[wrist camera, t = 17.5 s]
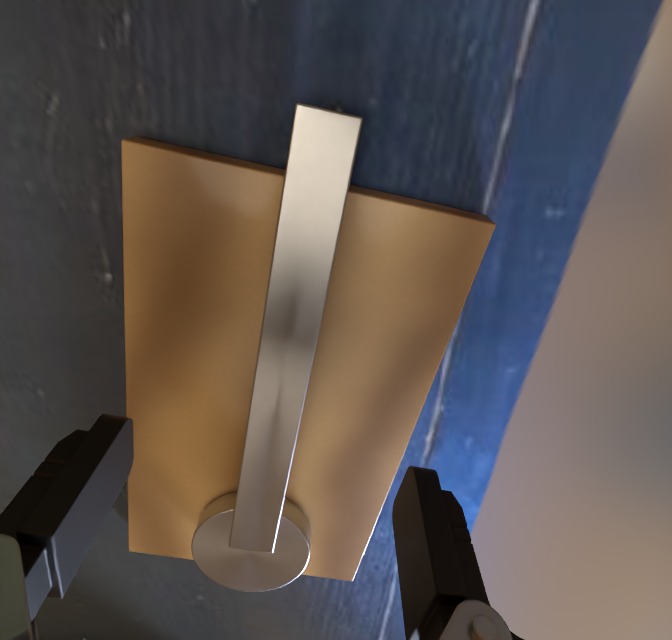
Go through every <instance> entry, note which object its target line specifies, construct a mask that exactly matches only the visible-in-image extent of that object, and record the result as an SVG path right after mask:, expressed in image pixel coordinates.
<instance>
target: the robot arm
mask: <svg viewBox="0 0 672 640" xmlns="http://www.w3.org/2000/svg"><path fill="white" fill-rule="evenodd" d="M133 459H134V440H133V420H132V419H131V418H126V417H120V416H114V415H108V414H102V415H101V416H100V417H99V418H98V419H97V421H96V422H95V424H94V425H93V426H92V428H91V429H90V430H89V431H83V430H76V431H74V432H73V433H71V434H70V435H68V436H67V437H65V438H64V439H62V440H61V441H59V442H58V443H57V444H56V446H55V447H54V448H53V449H52V451H51V452H50V453H49V454H48V456H47V457H46V458H45V461H44V462H42V463H41V464H40V466H39V467H38V468H37V470H36V471H35V472H34V475H33V476H31V477H30V478H29V480H28V481H27V482H26V483H25V485H24V486H23V487H22V488H21V490H20V491H19V492H18V493H17V495H16V496H15V497H14V499H13V500H12V501H11V502H10V504H9V505H8V506H7V507H6V509H5V510H4V511H3V512H2V514H1V515H0V640H39V638H38V631H37V623H36V617H35V616H36V614H37V612H38V610H39V609H40V607H41V605H42V603H43V602H44V600H45V598H46V596H48V597H56V598H63V596H64V594H65V592H66V591H67V589H68V587H69V585H70V583H71V581H72V580H73V578H74V576H75V574H76V572H77V570H78V569H79V567H80V565H81V563H82V561H83V559H84V558H85V556H86V554H87V552H88V550H89V548H90V547H91V545H92V543H93V541H94V539H95V537H96V536H97V534H98V532H99V530H100V528H101V526H102V525H103V523H104V521H105V519H106V517H107V515H108V514H109V512H110V510H111V508H112V506H113V504H114V502H115V501H116V499H117V497H118V495H119V493H120V491H121V490H122V488H123V486H124V484H125V482H126V480H127V478H128V476H129V474H130V471H131V468H132V464H133ZM392 520H393V530H394V538H395V547H396V556H397V565H398V574H399V582H400V591H401V600H402V609H403V618H404V626H405V635H406V640H524V639H521V638H520V637H518V636H516V635H515V634H514V633H512V632H511V631H510V630H509V628H508V626H507V624H506V623H505V621H504V620H503V619H502V617H501V616H500V615H499V614H498V613H497V612H496V611H495V610H494V609H493V608H492V607H491V606H490V604H489V601H488V598H487V595H486V592H485V587H484V584H483V580H482V577H481V573H480V570H479V566H478V563H477V559H476V555H475V552H474V548H473V545H472V544H471V538H470V534H469V531H468V529H467V523H466V520H465V516H464V513H463V509H462V507H461V506H460V504H459V503H458V501H457V500H456V498H455V497H454V495H453V494H452V492H451V491H445V490H441V487H440V482H439V478H438V475H437V472H436V471H435V470H432V469H426V468H420V467H414V466H409V467H408V469H407V471H406V474H405V476H404V478H403V481H402V483H401V486H400V488H399V490H398V493H397V495H396V498H395V500H394V505H393V513H392Z"/></svg>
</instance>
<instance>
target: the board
mask: <svg viewBox="0 0 672 640" xmlns="http://www.w3.org/2000/svg"><path fill="white" fill-rule="evenodd" d="M121 146H122V201H123V256H124V311H125V366H126V418H131V419H132V420H133V440H134V459H133V464H132V468H131V471H130V474H129V476H128V530H129V551H133V552H140V553H148V554H155V555H163V556H170V557H177V558H185V559H192V560H194V558H193V556H192V550H191V543H192V538H193V535H194V532H195V529H196V526H197V523H198V520H199V518H200V515H201V514H202V512H203V511H204V509H205V508H206V507H207V506H208V505H209V504H210V503H212V502H213V501H214V500H216V499H217V498H219V497H221V496H223V495H226V494H229V493H232V492H236V491H237V486H238V480H239V473H240V467H241V460H242V453H243V447H244V440H245V433H246V427H247V420H248V413H249V407H250V400H251V394H252V387H253V380H254V374H255V367H256V360H257V354H258V347H259V340H260V334H261V327H262V320H263V314H264V307H265V301H266V294H267V287H268V281H269V274H270V267H271V261H272V254H273V247H274V241H275V234H276V228H277V221H278V214H279V208H280V201H281V194H282V188H283V181H284V174H285V170H284V169H280V168H275V167H271V166H266V165H262V164H258V163H253V162H249V161H244V160H240V159H235V158H231V157H227V156H222V155H218V154H213V153H209V152H205V151H200V150H196V149H191V148H187V147H183V146H178V145H174V144H169V143H165V142H160V141H156V140H152V139H147V138H143V137H138V136H136V137H131V138H127V139H123V140H122V141H121ZM495 226H496V224H495V223H494V222H493V221H492V220H491V219H490V218H488V217H487V216H486V215H483V214H478V213H474V212H469V211H465V210H461V209H456V208H452V207H447V206H443V205H439V204H434V203H430V202H425V201H421V200H416V199H412V198H408V197H403V196H399V195H394V194H390V193H386V192H381V191H377V190H372V189H368V188H363V187H359V186H355V185H350V186H349V191H348V196H347V201H346V205H345V210H344V215H343V220H342V225H341V229H340V234H339V239H338V244H337V249H336V253H335V258H334V263H333V268H332V273H331V277H330V282H329V287H328V292H327V297H326V301H325V306H324V311H323V316H322V321H321V325H320V330H319V335H318V340H317V345H316V349H315V354H314V359H313V364H312V369H311V374H310V378H309V383H308V388H307V393H306V398H305V402H304V407H303V412H302V417H301V422H300V426H299V431H298V436H297V441H296V446H295V450H294V455H293V460H292V465H291V470H290V474H289V479H288V484H287V489H286V494H285V498H286V499H288V500H289V501H291V502H292V503H294V504H295V505H296V506H297V507H298V508H299V509H300V510H301V511H302V512H303V513H304V515H305V516H306V518H307V520H308V522H309V525H310V530H311V543H310V557H309V561H308V563H307V565H306V567H305V569H304V570H303V572H302V573H301V574H303V575H310V576H318V577H325V578H332V579H340V580H347V581H353V580H354V577H355V575H356V572H357V570H358V567H359V565H360V562H361V560H362V557H363V555H364V552H365V550H366V547H367V545H368V542H369V540H370V537H371V535H372V532H373V530H374V527H375V525H376V522H377V520H378V517H379V515H380V512H381V510H382V507H383V505H384V502H385V500H386V497H387V495H388V492H389V490H390V487H391V485H392V482H393V480H394V477H395V475H396V472H397V470H398V467H399V465H400V463H401V460H402V458H403V455H404V453H405V450H406V448H407V445H408V443H409V440H410V438H411V435H412V433H413V430H414V428H415V425H416V423H417V420H418V418H419V415H420V413H421V410H422V408H423V405H424V403H425V400H426V398H427V395H428V393H429V390H430V388H431V385H432V383H433V380H434V378H435V375H436V373H437V370H438V368H439V365H440V363H441V360H442V358H443V355H444V353H445V350H446V348H447V345H448V343H449V341H450V338H451V336H452V333H453V331H454V328H455V326H456V323H457V321H458V318H459V316H460V313H461V311H462V308H463V306H464V303H465V301H466V298H467V296H468V293H469V291H470V288H471V286H472V283H473V281H474V278H475V276H476V273H477V271H478V268H479V266H480V263H481V261H482V258H483V256H484V253H485V251H486V248H487V246H488V243H489V241H490V238H491V236H492V233H493V231H494V228H495Z"/></svg>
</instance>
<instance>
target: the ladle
mask: <svg viewBox="0 0 672 640" xmlns="http://www.w3.org/2000/svg"><path fill="white" fill-rule="evenodd" d="M362 124H363V118H362V117H360V116H356V115H352V114H347V113H343V112H339V111H334V110H330V109H325V108H321V107H317V106H312V105H308V104H304V103H299V102H297V103H296V104H295V108H294V115H293V121H292V128H291V135H290V141H289V148H288V155H287V161H286V168H285V174H284V181H283V188H282V194H281V201H280V208H279V214H278V221H277V228H276V234H275V241H274V247H273V254H272V261H271V267H270V274H269V281H268V287H267V294H266V301H265V307H264V314H263V320H262V327H261V334H260V340H259V347H258V354H257V360H256V367H255V374H254V380H253V387H252V394H251V400H250V407H249V413H248V420H247V427H246V433H245V440H244V447H243V453H242V460H241V467H240V473H239V480H238V486H237V491H236V492H232V493H229V494H226V495H223V496H221V497H219V498H217V499H216V500H214V501H213V502H212V503H210V504H209V505H208V506H207V507H206V508H205V509H204V511H203V512H202V514H201V515H200V518H199V520H198V523H197V526H196V529H195V532H194V535H193V538H192V543H191V550H192V556H193V558H194V561H195V563H196V565H197V566H198V568H199V569H200V570H201V571H202V572H203V573H204V574H205V575H206V576H207V577H209V578H210V579H211V580H213V581H215V582H216V583H218V584H220V585H222V586H225V587H228V588H231V589H235V590H240V591H248V592H260V591H268V590H273V589H276V588H280V587H282V586H284V585H286V584H288V583H290V582H292V581H293V580H295V579H296V578H297V577H298V576H299V575H300V574H301V573H302V572H303V570H304V569H305V567H306V565H307V563H308V561H309V557H310V543H311V530H310V525H309V522H308V520H307V518H306V516H305V515H304V513H303V512H302V511H301V510H300V509H299V508H298V507H297V506H296V505H295V504H294V503H292V502H291V501H289V500H288V499H286V498H285V494H286V489H287V484H288V479H289V474H290V470H291V465H292V460H293V455H294V450H295V446H296V441H297V436H298V431H299V426H300V422H301V417H302V412H303V407H304V402H305V398H306V393H307V388H308V383H309V378H310V374H311V369H312V364H313V359H314V354H315V349H316V345H317V340H318V335H319V330H320V325H321V321H322V316H323V311H324V306H325V301H326V297H327V292H328V287H329V282H330V277H331V273H332V268H333V263H334V258H335V253H336V249H337V244H338V239H339V234H340V229H341V225H342V220H343V215H344V210H345V205H346V201H347V196H348V191H349V186H350V181H351V177H352V172H353V167H354V162H355V157H356V153H357V148H358V143H359V138H360V133H361V129H362Z"/></svg>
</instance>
